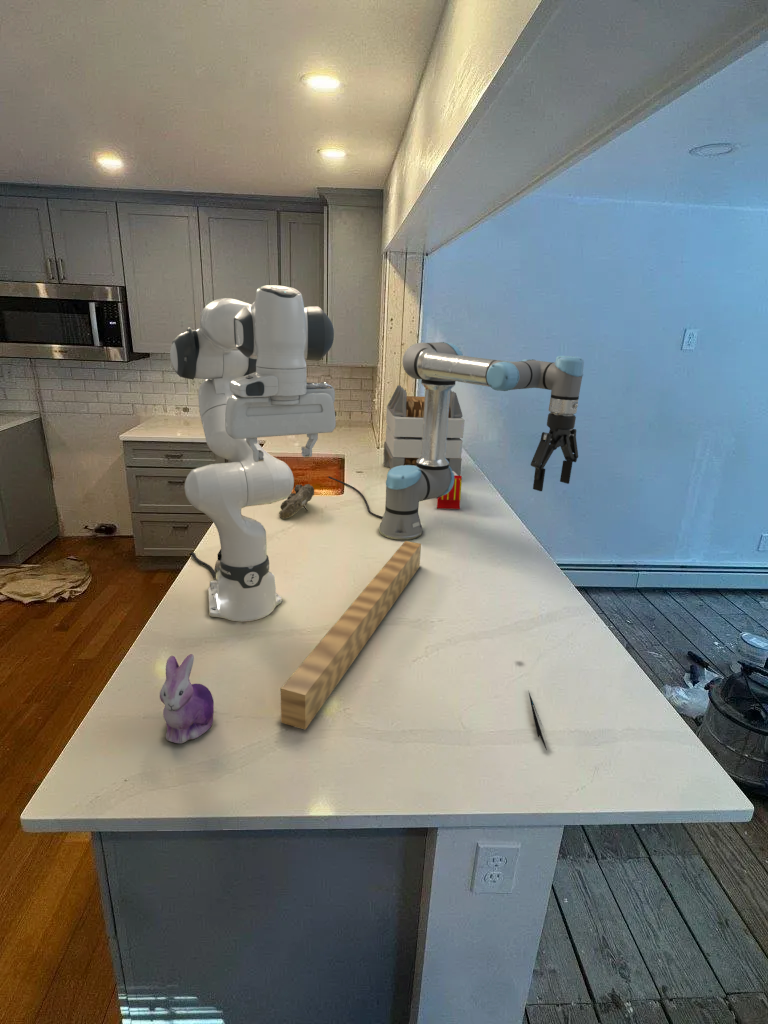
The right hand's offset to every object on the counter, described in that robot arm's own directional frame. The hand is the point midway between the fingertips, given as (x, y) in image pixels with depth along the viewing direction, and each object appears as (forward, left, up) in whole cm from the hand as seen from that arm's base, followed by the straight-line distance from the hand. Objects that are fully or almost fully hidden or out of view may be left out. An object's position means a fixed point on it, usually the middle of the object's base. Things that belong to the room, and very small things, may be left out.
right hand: (551, 486), depth 166 cm
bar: (-7, -62, -28) cm, 69 cm away
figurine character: (-55, -75, -28) cm, 97 cm away
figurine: (+1, -111, -28) cm, 115 cm away
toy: (-67, +28, -28) cm, 78 cm away
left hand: (-2, -88, +20) cm, 90 cm away
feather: (+36, -54, -28) cm, 71 cm away
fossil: (-88, -31, -28) cm, 97 cm away
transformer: (-101, +46, -28) cm, 114 cm away
